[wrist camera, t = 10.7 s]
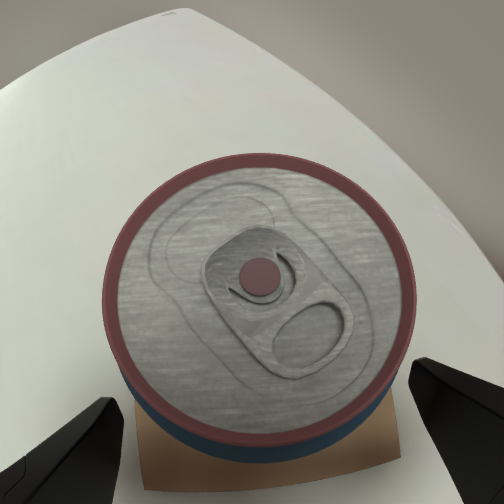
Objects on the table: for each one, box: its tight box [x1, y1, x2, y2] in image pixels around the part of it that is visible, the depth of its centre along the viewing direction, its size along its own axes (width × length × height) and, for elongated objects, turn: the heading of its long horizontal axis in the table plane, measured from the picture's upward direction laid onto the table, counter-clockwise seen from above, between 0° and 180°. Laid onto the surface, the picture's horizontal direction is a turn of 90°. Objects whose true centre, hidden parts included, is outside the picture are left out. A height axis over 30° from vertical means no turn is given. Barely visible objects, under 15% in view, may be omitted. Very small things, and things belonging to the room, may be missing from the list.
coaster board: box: [134, 387, 401, 492], centre depth 16 cm, size 14×14×1 cm
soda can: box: [102, 153, 417, 464], centre depth 11 cm, size 7×7×12 cm
